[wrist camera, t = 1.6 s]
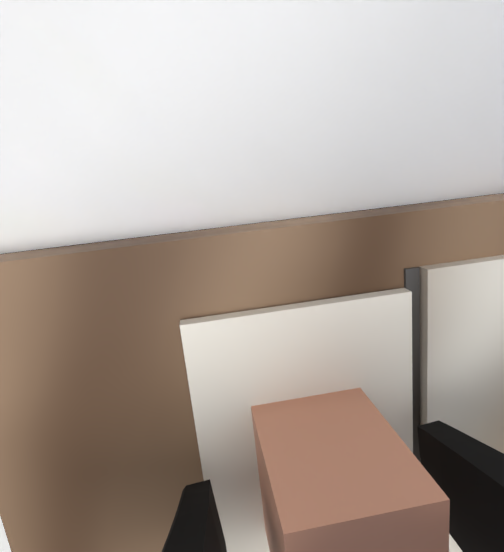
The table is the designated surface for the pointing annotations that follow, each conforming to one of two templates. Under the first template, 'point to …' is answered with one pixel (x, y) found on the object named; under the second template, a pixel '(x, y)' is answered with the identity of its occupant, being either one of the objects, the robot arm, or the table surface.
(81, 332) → the board
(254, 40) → the table surface
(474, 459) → the robot arm
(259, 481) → the stub
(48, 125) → the table surface
